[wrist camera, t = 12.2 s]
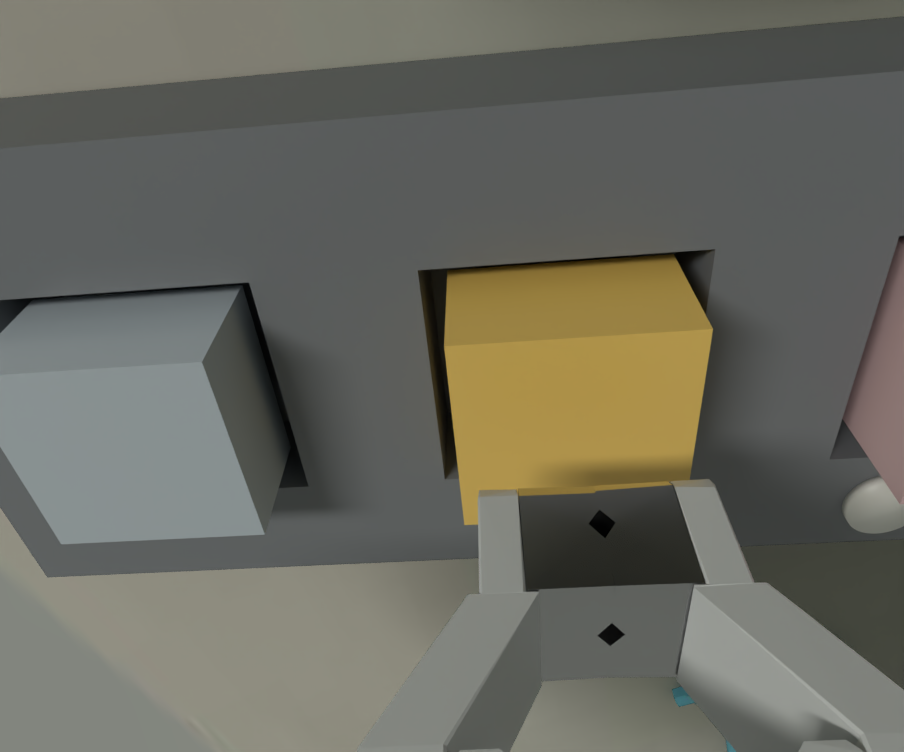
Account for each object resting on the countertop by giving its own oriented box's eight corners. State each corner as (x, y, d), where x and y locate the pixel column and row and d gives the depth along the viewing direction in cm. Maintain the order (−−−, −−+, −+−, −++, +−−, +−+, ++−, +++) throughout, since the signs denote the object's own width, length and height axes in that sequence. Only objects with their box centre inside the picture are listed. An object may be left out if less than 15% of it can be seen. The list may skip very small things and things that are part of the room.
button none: (112, 457, 14) (61, 544, 12) (32, 299, 12) (-44, 377, 10) (290, 447, 14) (265, 534, 12) (242, 284, 12) (202, 361, 10)
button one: (464, 437, 14) (464, 524, 12) (447, 270, 11) (443, 346, 10) (655, 427, 13) (683, 514, 11) (673, 254, 11) (713, 329, 9)
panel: (104, 477, 18) (42, 585, 15) (-91, 106, 12) (-240, 173, 10) (1030, 428, 16) (1138, 537, 14) (1264, -16, 11) (1513, 23, 8)
